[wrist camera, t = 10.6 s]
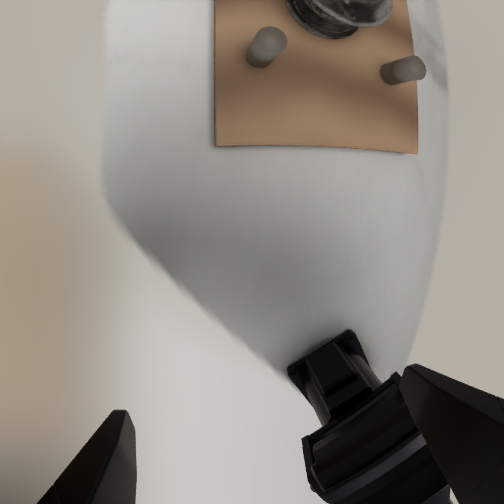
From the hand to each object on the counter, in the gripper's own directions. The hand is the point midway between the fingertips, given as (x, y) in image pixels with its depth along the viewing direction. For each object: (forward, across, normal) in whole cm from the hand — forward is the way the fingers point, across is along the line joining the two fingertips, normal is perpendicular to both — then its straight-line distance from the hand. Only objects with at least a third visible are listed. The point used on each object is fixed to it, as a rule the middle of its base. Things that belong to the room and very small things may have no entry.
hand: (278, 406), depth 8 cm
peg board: (+13, -6, -17) cm, 23 cm away
